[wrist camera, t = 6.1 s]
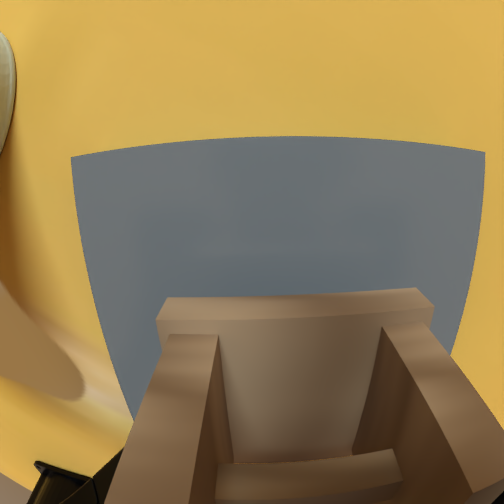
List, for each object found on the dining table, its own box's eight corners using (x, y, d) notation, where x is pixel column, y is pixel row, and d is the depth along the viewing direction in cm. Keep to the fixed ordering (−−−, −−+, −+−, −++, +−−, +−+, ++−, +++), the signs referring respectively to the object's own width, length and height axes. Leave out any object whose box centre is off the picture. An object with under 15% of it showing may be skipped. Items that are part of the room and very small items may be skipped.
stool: (196, 437, 10) (171, 583, 4) (167, 297, 8) (68, 500, 3) (380, 426, 10) (424, 560, 4) (416, 287, 8) (548, 444, 2)
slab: (155, 424, 15) (147, 451, 13) (97, 153, 11) (71, 157, 9) (405, 413, 15) (416, 437, 13) (456, 148, 10) (485, 152, 8)
